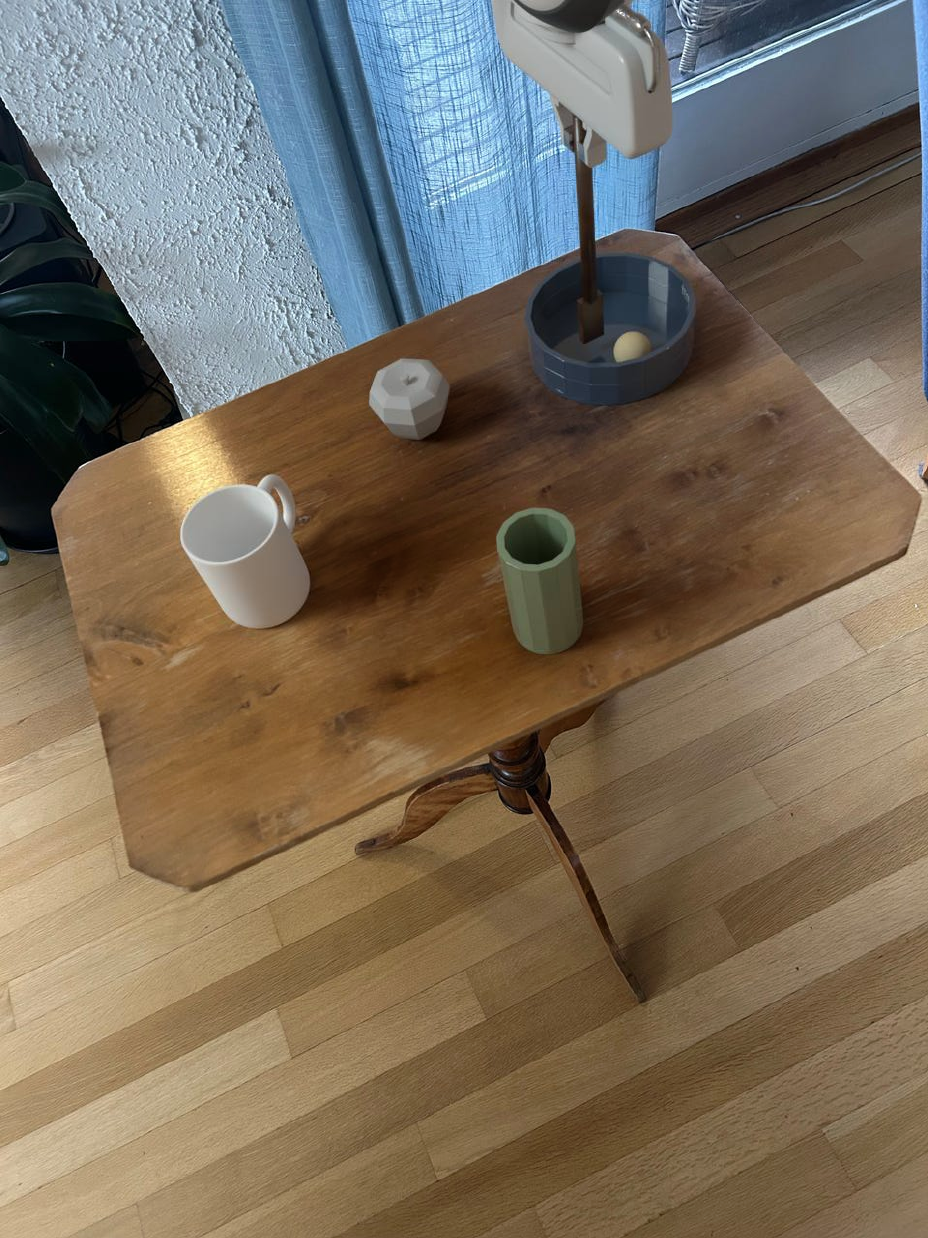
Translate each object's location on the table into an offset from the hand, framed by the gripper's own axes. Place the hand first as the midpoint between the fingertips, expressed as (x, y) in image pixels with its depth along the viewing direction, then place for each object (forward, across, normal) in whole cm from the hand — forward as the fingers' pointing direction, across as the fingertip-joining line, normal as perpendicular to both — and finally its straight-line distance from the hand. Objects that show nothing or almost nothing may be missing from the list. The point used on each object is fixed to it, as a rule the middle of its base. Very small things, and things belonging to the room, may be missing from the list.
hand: (583, 153), depth 81 cm
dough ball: (+19, -4, -2) cm, 20 cm away
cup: (+22, -7, +38) cm, 45 cm away
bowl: (+22, 0, -2) cm, 22 cm away
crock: (+22, -25, +20) cm, 39 cm away
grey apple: (+22, +2, +19) cm, 29 cm away
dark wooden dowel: (+20, 0, 0) cm, 20 cm away
